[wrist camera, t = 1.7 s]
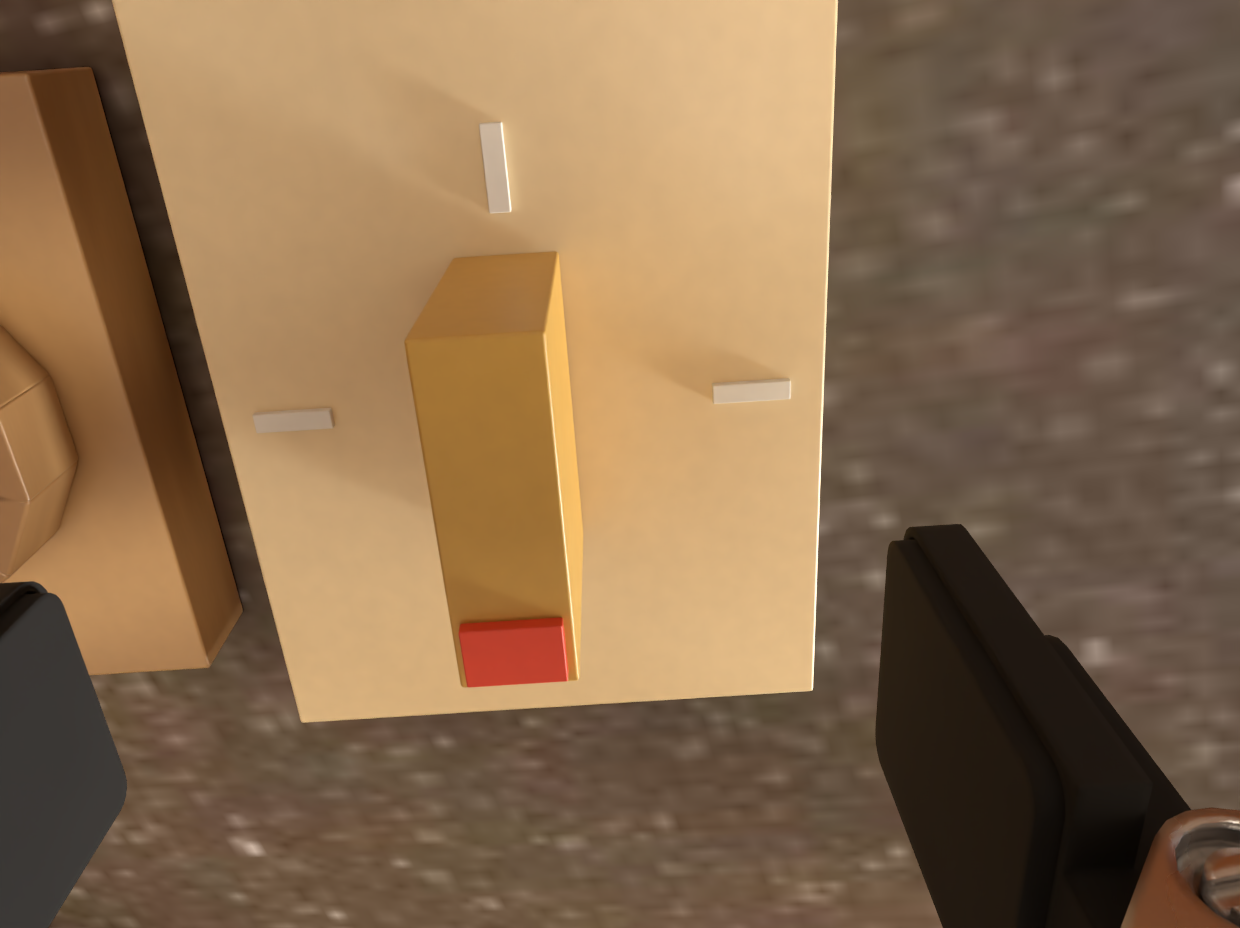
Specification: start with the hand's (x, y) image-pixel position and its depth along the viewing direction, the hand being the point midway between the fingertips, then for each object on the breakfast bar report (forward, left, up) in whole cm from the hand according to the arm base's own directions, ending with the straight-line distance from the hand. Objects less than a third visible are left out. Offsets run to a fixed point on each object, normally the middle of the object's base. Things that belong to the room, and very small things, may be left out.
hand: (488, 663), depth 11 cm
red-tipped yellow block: (0, 0, -7) cm, 7 cm away
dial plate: (0, 0, -10) cm, 10 cm away
